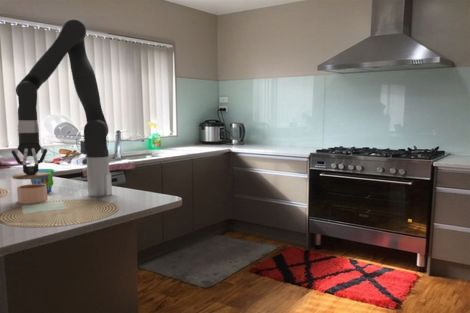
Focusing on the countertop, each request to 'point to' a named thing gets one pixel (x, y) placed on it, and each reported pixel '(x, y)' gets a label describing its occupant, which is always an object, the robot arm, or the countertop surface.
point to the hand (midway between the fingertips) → (30, 173)
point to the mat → (43, 207)
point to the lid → (30, 174)
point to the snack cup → (45, 179)
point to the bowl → (32, 193)
